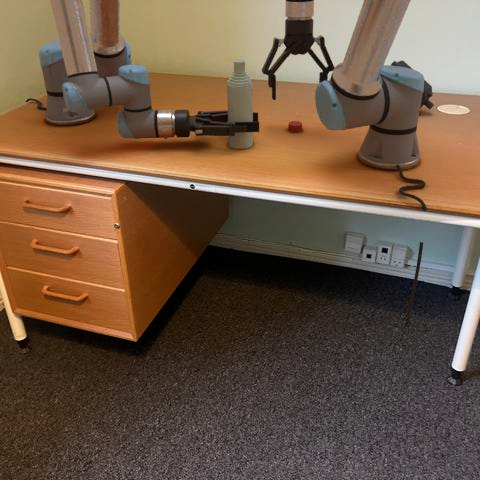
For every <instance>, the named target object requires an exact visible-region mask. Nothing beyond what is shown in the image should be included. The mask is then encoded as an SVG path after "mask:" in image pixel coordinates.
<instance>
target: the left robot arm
mask: <svg viewBox="0 0 480 480" xmlns="http://www.w3.org/2000/svg"><path fill="white" fill-rule="evenodd" d="M49 2H50V7H51V10H52V15H53V19H54V24H55V27H56V32H57V36H58V40H54V41H50V42H48V43H46V44H44V45H42V46H41V47H40V48H39V50H38V57H39V66H40V68H41V73H42V77H43V81H44V86H45V91H46V107H45V106H42V101H40V100H38V99H36V98H31V97H30V98H27V99H26V100H25V103H28V102H31V101H33V102H36V103H38V104H37V108H38V109H39V110H45V120H46V123H48V124H49V125H53V126H57V127H67V126H68V127H69V126H77V125H82V124H85V123H88V122H91V121H92V120H94V118H95V117H96V110H99V109H100V110H101V109H106V108H113V107H118V106H123V107H122V108H123V110H119V111H118V112H117V115H116V127H117V132H118V135H119V136H120V137H121V138H123V139H135V140H139V139H156V138H157V139H163V138H164V140H168V139H169V138H175V137H176V138H179V139H181V138H190V136H191V132H193V133H195V134H194V135H195V137H203V136H205V137H206V136H209V137H210V136H211V137H229V136H235V133H239V132H253V133H260V121H259V112H257V111H256V112H255V111H253V122H235V124H233V123H228V109H227V110H208V111H204V110H199V111H197V114H195V115H190V111H189V109H176V110H175V111H174V109H153V107H152V98H151V97H152V96H151V86H150V85H151V83H150V77H149V74H148V73H149V72H148V69H147V67H145V66H144V65H142V64H140V65H138V64H139V63H132V52H131V51H132V50H131V46H130V44H129V42H128V41H127V40H126V39H125V37H124V36H123V35H122V34H121V8H122V7H121V5H122V3H121V2H122V0H89V3H88V5H89V26H90V27H88V22H87V21H88V20H87V17H86V12H85V7H84V3H83V0H49ZM89 28H90V30H89Z"/></svg>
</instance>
